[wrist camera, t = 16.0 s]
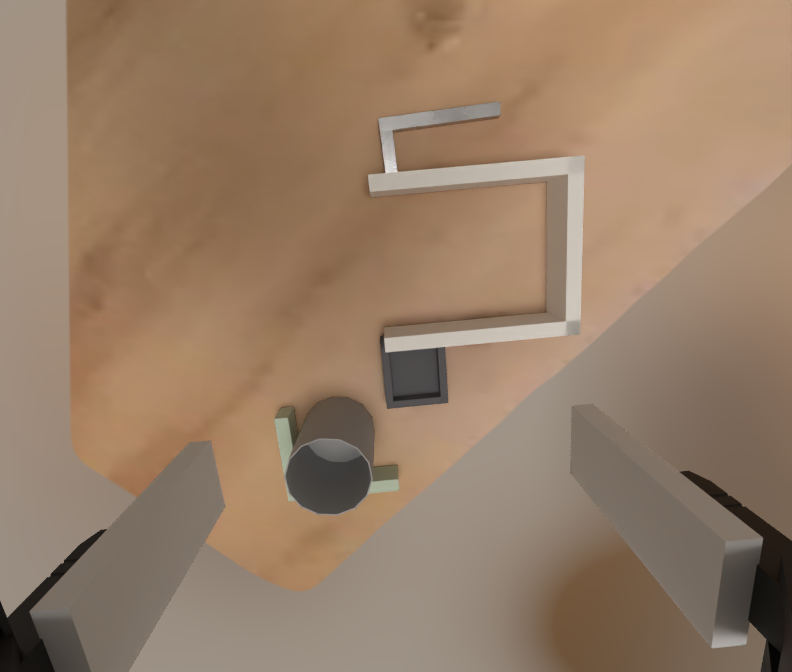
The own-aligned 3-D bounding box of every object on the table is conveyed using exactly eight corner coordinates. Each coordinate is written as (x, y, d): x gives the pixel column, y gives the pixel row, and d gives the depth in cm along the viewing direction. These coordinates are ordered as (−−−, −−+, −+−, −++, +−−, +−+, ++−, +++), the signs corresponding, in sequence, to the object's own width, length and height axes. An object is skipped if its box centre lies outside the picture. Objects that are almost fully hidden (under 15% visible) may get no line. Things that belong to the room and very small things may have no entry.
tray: (386, 401, 47) (387, 408, 45) (380, 336, 45) (380, 340, 43) (445, 396, 47) (448, 402, 45) (441, 330, 45) (444, 334, 43)
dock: (294, 485, 49) (288, 501, 46) (280, 407, 47) (274, 419, 44) (398, 475, 49) (399, 490, 46) (390, 397, 47) (391, 407, 44)
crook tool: (385, 176, 41) (385, 174, 40) (378, 121, 40) (378, 118, 39) (500, 160, 41) (503, 158, 40) (496, 105, 40) (500, 101, 39)
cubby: (385, 340, 45) (385, 352, 40) (369, 182, 41) (367, 174, 36) (558, 324, 45) (580, 334, 40) (560, 165, 41) (584, 155, 36)
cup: (335, 382, 46) (323, 421, 36) (388, 425, 48) (390, 473, 38) (290, 432, 47) (266, 482, 38) (343, 472, 49) (333, 530, 39)
